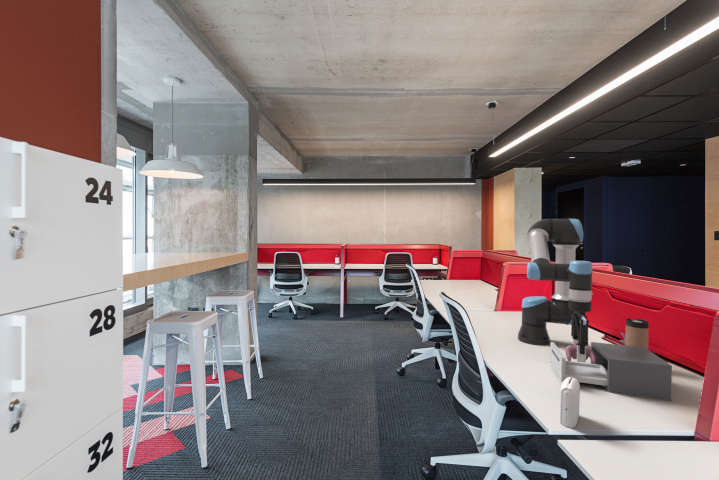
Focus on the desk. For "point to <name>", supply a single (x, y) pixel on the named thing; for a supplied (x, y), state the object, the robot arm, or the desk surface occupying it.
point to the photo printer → (569, 402)
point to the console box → (634, 370)
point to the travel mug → (637, 333)
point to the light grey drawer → (577, 369)
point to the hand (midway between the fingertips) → (578, 358)
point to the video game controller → (572, 353)
